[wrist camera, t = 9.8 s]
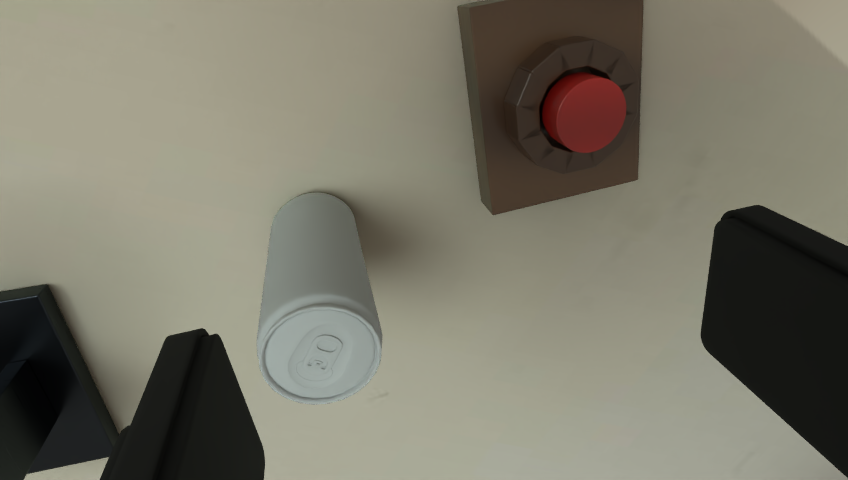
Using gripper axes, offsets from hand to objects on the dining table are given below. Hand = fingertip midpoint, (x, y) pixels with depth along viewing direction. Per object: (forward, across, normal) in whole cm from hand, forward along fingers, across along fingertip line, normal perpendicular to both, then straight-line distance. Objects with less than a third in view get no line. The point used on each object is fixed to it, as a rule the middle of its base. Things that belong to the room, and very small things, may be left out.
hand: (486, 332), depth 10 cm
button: (+17, -10, +1) cm, 20 cm away
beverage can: (+21, +4, +6) cm, 22 cm away
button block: (+21, -10, +1) cm, 23 cm away
